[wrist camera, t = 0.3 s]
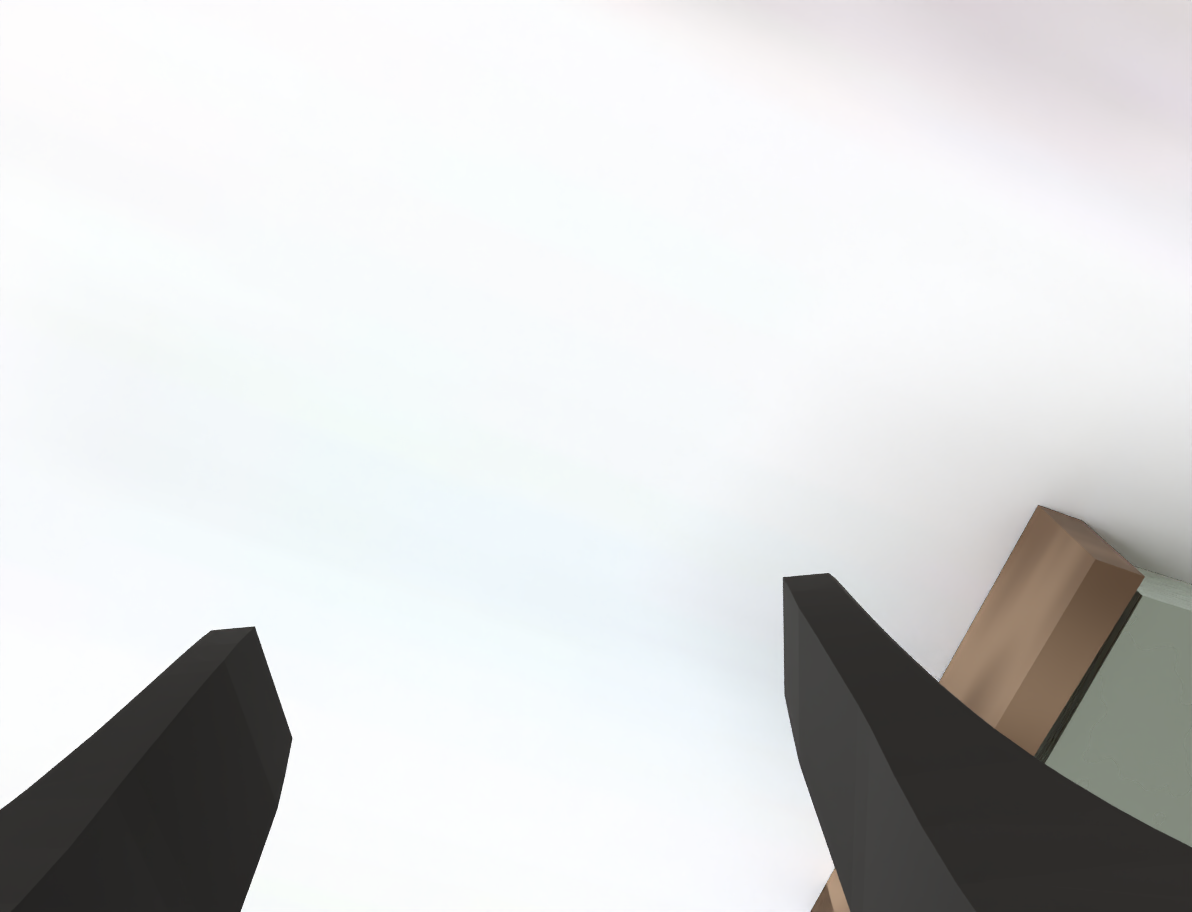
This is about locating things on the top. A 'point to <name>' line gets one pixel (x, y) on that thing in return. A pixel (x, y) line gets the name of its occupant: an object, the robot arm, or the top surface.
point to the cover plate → (1136, 713)
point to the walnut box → (1034, 635)
